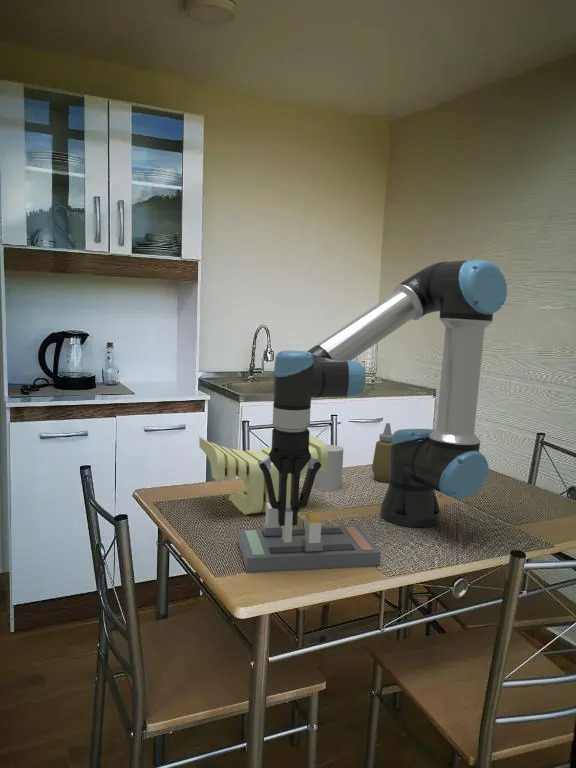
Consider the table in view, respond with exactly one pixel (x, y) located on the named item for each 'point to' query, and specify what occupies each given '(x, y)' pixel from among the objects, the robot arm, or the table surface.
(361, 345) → the robot arm
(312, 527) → the handle
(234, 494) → the slatted curved stool
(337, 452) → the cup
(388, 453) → the squeeze bottle
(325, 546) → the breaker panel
